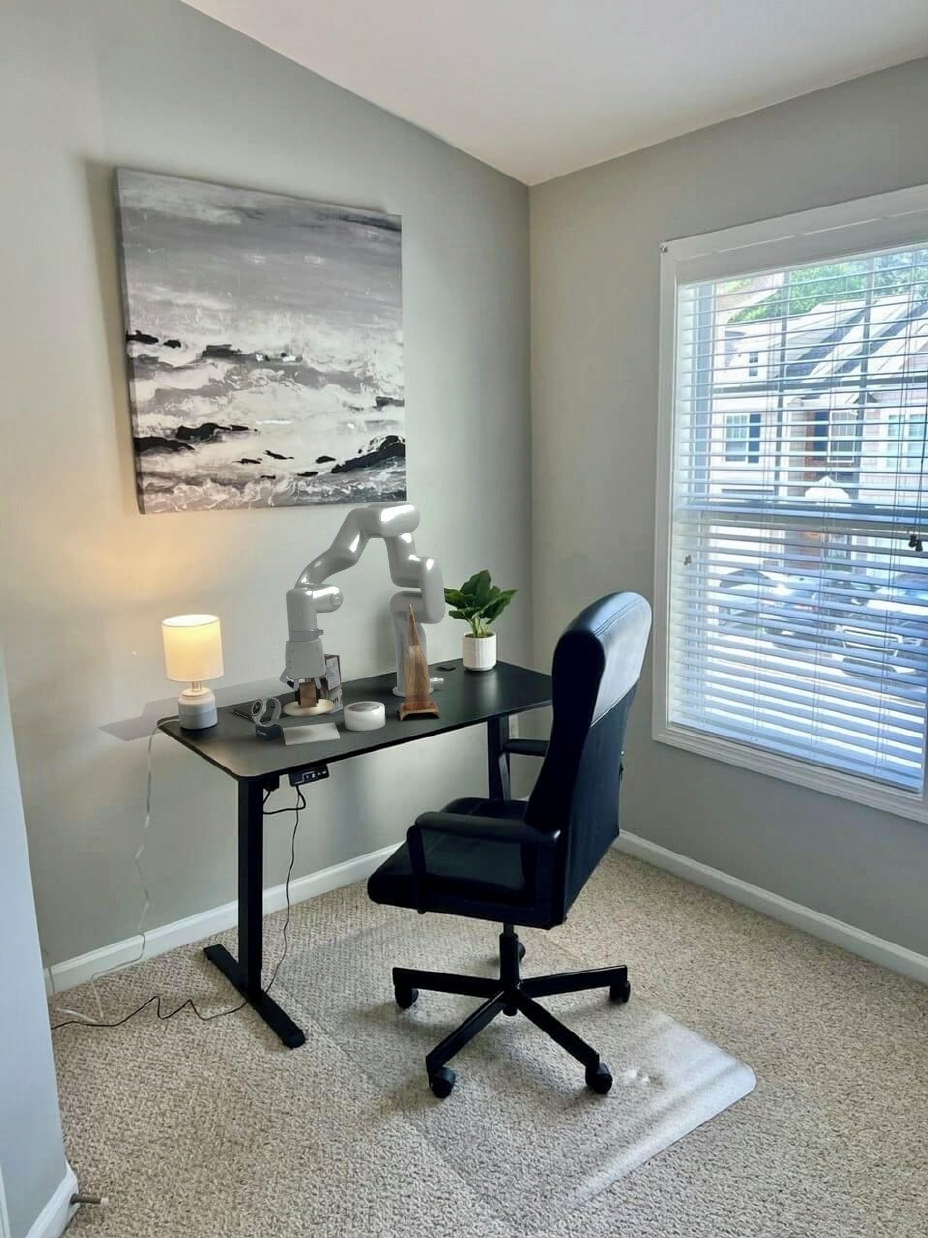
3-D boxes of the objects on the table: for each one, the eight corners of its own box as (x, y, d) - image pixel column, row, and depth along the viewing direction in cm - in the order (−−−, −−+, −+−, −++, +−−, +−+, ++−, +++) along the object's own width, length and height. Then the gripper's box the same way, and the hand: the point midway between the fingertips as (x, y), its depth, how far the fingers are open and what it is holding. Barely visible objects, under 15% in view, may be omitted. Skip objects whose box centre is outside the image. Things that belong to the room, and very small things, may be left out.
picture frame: (296, 700, 275) (234, 714, 262) (295, 691, 275) (233, 705, 262) (323, 709, 264) (259, 725, 250) (322, 700, 263) (259, 716, 250)
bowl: (381, 717, 251) (380, 699, 250) (388, 728, 241) (387, 710, 240) (342, 721, 249) (341, 704, 248) (347, 733, 238) (346, 715, 237)
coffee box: (344, 708, 261) (340, 655, 258) (330, 714, 256) (326, 659, 253) (320, 705, 266) (316, 652, 263) (305, 711, 260) (301, 657, 257)
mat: (334, 724, 247) (334, 722, 247) (340, 739, 233) (340, 737, 233) (283, 729, 243) (282, 728, 243) (286, 745, 230) (285, 744, 230)
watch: (250, 738, 237) (246, 698, 235) (275, 731, 242) (272, 692, 240) (261, 743, 233) (257, 702, 231) (287, 735, 238) (284, 695, 236)
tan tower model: (436, 708, 259) (429, 599, 254) (441, 718, 247) (434, 604, 242) (398, 711, 257) (390, 602, 252) (401, 722, 246) (393, 607, 241)
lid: (330, 699, 245) (329, 675, 243) (335, 712, 232) (334, 687, 231) (282, 704, 241) (280, 680, 240) (285, 717, 229) (283, 692, 228)
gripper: (333, 630, 239) (338, 696, 242) (270, 635, 235) (275, 702, 238) (337, 635, 232) (341, 703, 235) (271, 641, 228) (276, 710, 231)
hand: (308, 702), depth 237 cm, fingers closed on lid, 4 cm apart
